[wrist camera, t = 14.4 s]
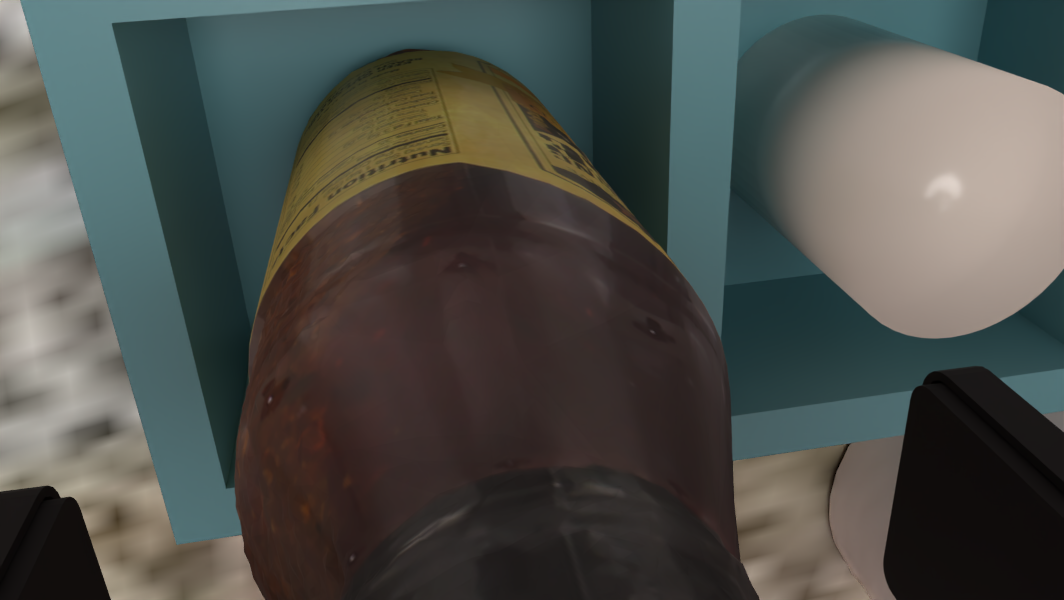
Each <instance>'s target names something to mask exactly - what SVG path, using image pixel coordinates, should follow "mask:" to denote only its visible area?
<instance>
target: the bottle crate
mask: <svg viewBox="0 0 1064 600" xmlns="http://www.w3.org/2000/svg"><path fill="white" fill-rule="evenodd" d="M20 1H21V5H22V8H23V12H24V15H25V19H26V22H27V25H28V29H29V32H30V36H31V39H32V43H33V46H34V50H35V53H36V57H37V60H38V64H39V67H40V71H41V74H42V78H43V81H44V85H45V88H46V92H47V95H48V99H49V102H50V106H51V109H52V112H53V116H54V119H55V123H56V126H57V130H58V133H59V137H60V140H61V144H62V147H63V151H64V154H65V158H66V161H67V165H68V168H69V172H70V175H71V179H72V182H73V186H74V189H75V192H76V196H77V199H78V203H79V206H80V210H81V213H82V217H83V220H84V224H85V227H86V231H87V234H88V238H89V241H90V245H91V248H92V252H93V255H94V259H95V262H96V266H97V269H98V273H99V276H100V279H101V283H102V286H103V290H104V293H105V297H106V300H107V304H108V307H109V311H110V314H111V318H112V321H113V325H114V328H115V332H116V335H117V339H118V342H119V346H120V349H121V353H122V356H123V360H124V363H125V366H126V370H127V373H128V377H129V380H130V384H131V387H132V391H133V394H134V398H135V401H136V405H137V408H138V412H139V415H140V419H141V422H142V426H143V429H144V433H145V436H146V440H147V443H148V446H149V450H150V453H151V457H152V460H153V464H154V467H155V471H156V474H157V478H158V481H159V485H160V488H161V492H162V495H163V499H164V502H165V506H166V509H167V513H168V516H169V520H170V523H171V527H172V530H173V533H174V537H175V540H176V544H177V545H178V544H184V543H191V542H198V541H204V540H211V539H218V538H224V537H231V536H237V535H242V532H241V525H240V520H239V517H238V513H237V510H236V507H235V506H236V497H235V478H234V477H235V461H236V441H237V436H238V430H239V425H240V418H241V414H242V408H243V404H244V401H245V396H246V389H247V387H248V385H249V373H248V366H249V343H250V338H251V333H252V329H253V324H254V320H255V315H256V311H257V307H258V303H259V299H260V295H261V291H262V287H263V283H264V279H265V275H266V271H267V267H268V263H269V259H270V255H271V251H272V247H273V243H274V239H275V235H276V231H277V227H278V223H279V219H280V215H281V211H282V207H283V203H284V199H285V195H286V191H287V187H288V184H289V180H290V176H291V172H292V168H293V164H294V160H295V156H296V152H297V147H298V144H299V142H300V139H301V136H302V134H303V132H304V130H305V128H306V126H307V124H308V120H309V119H310V117H311V116H312V114H313V113H314V112H315V110H316V109H317V107H318V106H319V104H320V103H321V102H322V101H323V100H324V98H325V97H326V96H327V95H328V94H329V93H330V92H331V91H332V89H333V88H334V87H336V86H337V85H338V84H339V83H340V82H341V81H342V80H343V79H344V78H345V77H347V76H348V75H349V74H350V73H351V72H353V71H355V70H357V69H359V68H361V67H363V66H366V65H367V64H368V63H372V62H374V61H376V60H378V59H380V58H383V57H386V56H388V55H390V54H392V53H394V52H397V51H401V50H405V49H423V50H435V51H451V52H458V53H462V54H466V55H470V56H474V57H477V58H480V59H482V60H484V61H487V62H489V63H491V64H493V65H495V66H497V67H499V68H500V69H502V70H504V71H506V72H508V73H509V74H510V75H512V76H513V77H514V78H516V79H517V80H519V81H520V82H521V83H522V84H523V85H525V86H526V87H527V88H528V89H529V90H530V91H531V92H532V93H533V94H534V95H535V96H536V97H537V98H538V99H539V100H540V102H541V103H542V104H543V105H544V106H545V108H546V109H547V110H548V111H549V112H550V113H551V115H552V116H553V117H554V118H555V120H556V121H557V122H558V123H559V124H560V126H561V127H562V128H563V129H564V131H565V132H566V133H567V134H568V136H569V137H570V138H571V139H572V141H573V142H574V143H575V144H576V146H577V147H578V148H579V149H580V150H581V151H583V152H584V154H585V155H586V157H587V158H588V159H589V161H590V162H591V164H592V165H593V167H594V168H595V169H596V170H597V171H598V173H599V174H600V175H601V177H602V178H603V179H604V180H605V181H606V182H607V183H608V184H609V186H610V187H611V188H612V189H613V191H614V192H615V193H616V194H617V196H618V197H619V198H620V199H621V201H622V202H623V203H624V204H625V205H626V207H627V208H628V209H629V210H630V212H631V213H632V214H633V215H634V216H635V217H636V219H637V220H638V221H639V222H640V224H641V225H642V226H643V227H644V229H646V230H647V231H648V233H649V234H650V235H651V236H652V237H653V239H654V240H655V241H656V242H657V243H658V244H659V245H660V246H661V247H662V249H663V250H664V251H665V252H666V253H667V255H668V256H669V257H670V258H671V259H672V261H673V262H674V263H675V265H676V266H677V268H678V269H679V271H680V272H681V273H682V275H683V276H684V277H685V278H686V280H687V281H688V282H689V283H690V285H691V286H692V288H693V289H694V290H695V292H696V293H697V295H698V296H699V298H700V299H701V301H702V302H703V304H704V306H705V307H706V309H707V311H708V313H709V315H710V317H711V319H712V321H713V323H714V325H715V327H716V330H717V332H718V335H719V337H720V340H721V342H722V346H723V350H724V355H725V359H726V363H727V369H728V377H729V386H730V395H731V423H732V455H733V461H735V460H742V459H748V458H755V457H762V456H768V455H775V454H782V453H788V452H795V451H801V450H808V449H815V448H821V447H828V446H835V445H841V444H848V443H855V442H861V441H868V440H874V439H881V438H888V437H894V436H901V435H904V433H905V427H906V421H907V415H908V410H909V404H910V398H911V395H912V392H913V390H914V389H915V387H918V386H920V385H923V381H924V379H925V378H926V376H927V375H928V374H929V373H931V372H933V371H939V370H947V369H955V368H963V367H970V366H983V367H984V368H986V369H988V370H990V371H991V372H992V373H993V374H994V375H996V376H997V377H998V378H999V379H1000V380H1002V381H1003V382H1004V383H1005V384H1006V385H1008V386H1009V387H1010V388H1011V389H1012V390H1014V391H1015V392H1016V393H1017V394H1018V395H1020V396H1021V397H1022V398H1023V399H1024V400H1026V401H1027V402H1028V403H1029V404H1031V405H1032V406H1033V407H1034V408H1035V409H1037V410H1038V411H1039V412H1040V413H1041V414H1047V413H1054V412H1060V411H1064V269H1063V270H1062V271H1061V273H1060V274H1059V275H1058V276H1057V277H1056V279H1055V280H1054V281H1053V282H1052V283H1051V284H1050V285H1049V286H1048V287H1047V288H1046V289H1045V290H1044V291H1043V292H1042V293H1041V294H1039V295H1038V296H1037V297H1036V298H1035V299H1033V300H1032V301H1031V302H1030V303H1029V304H1027V305H1026V306H1024V307H1023V308H1021V309H1020V310H1019V311H1017V312H1016V313H1014V314H1013V315H1011V316H1009V317H1007V318H1005V319H1004V320H1002V321H1000V322H998V323H996V324H994V325H991V326H989V327H987V328H984V329H982V330H979V331H976V332H972V333H969V334H966V335H961V336H956V337H950V338H937V339H935V338H919V337H914V336H909V335H905V334H902V333H900V332H897V331H894V330H892V329H890V328H888V327H887V326H885V325H883V324H881V323H880V322H879V321H877V320H876V319H875V318H874V317H872V316H871V315H870V314H869V313H868V312H867V311H866V310H864V309H863V308H862V307H861V306H860V305H859V304H858V303H857V302H856V301H854V300H853V299H852V298H851V297H850V296H849V295H848V294H847V293H846V292H844V291H843V290H842V289H841V288H840V287H839V286H838V285H837V284H836V283H834V282H833V281H832V280H831V279H830V278H829V277H828V276H827V275H826V274H825V273H823V272H822V271H821V270H820V269H819V268H818V267H817V266H816V265H815V264H813V263H812V262H811V261H810V260H809V259H808V258H807V257H806V256H805V255H803V254H802V253H801V252H800V251H799V250H798V249H797V248H796V247H795V246H793V245H792V244H791V243H790V242H789V241H788V240H787V239H786V238H785V237H784V236H782V235H781V234H780V233H779V232H778V231H777V230H776V229H775V228H774V227H772V226H771V225H770V224H769V223H768V222H767V221H766V220H765V219H764V218H762V217H761V216H760V215H759V214H758V213H757V212H756V211H755V210H754V209H752V208H751V207H750V206H749V205H748V204H747V203H746V202H745V201H744V200H743V199H741V198H740V197H739V196H738V195H737V194H736V193H735V192H734V191H733V190H732V189H731V188H730V180H731V163H732V147H733V130H734V113H735V96H736V80H737V63H738V61H739V60H740V58H741V57H742V56H743V55H744V54H745V52H746V51H747V50H748V49H750V48H751V47H752V46H753V45H754V44H755V43H756V42H757V41H758V40H760V39H761V38H762V37H764V36H765V35H766V34H768V33H769V32H771V31H773V30H774V29H776V28H778V27H779V26H781V25H784V24H786V23H788V22H790V21H793V20H796V19H800V18H803V17H807V16H814V15H838V16H845V17H848V18H851V19H855V20H858V21H861V22H863V23H866V24H869V25H872V26H875V27H878V28H881V29H884V30H887V31H889V32H892V33H895V34H898V35H901V36H904V37H907V38H910V39H913V40H916V41H918V42H921V43H924V44H927V45H930V46H933V47H936V48H939V49H942V50H944V51H947V52H950V53H953V54H956V55H959V56H962V57H965V58H968V59H970V60H973V61H976V62H979V63H982V64H985V65H988V66H991V67H994V68H996V69H999V70H1002V71H1005V72H1008V73H1011V74H1014V75H1017V76H1020V77H1022V78H1025V79H1028V80H1031V81H1034V82H1037V83H1040V84H1043V85H1046V86H1048V87H1050V88H1052V89H1054V90H1056V91H1058V92H1060V93H1062V94H1063V95H1064V0H20Z"/></svg>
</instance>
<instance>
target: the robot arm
mask: <svg viewBox="0 0 1064 600" xmlns="http://www.w3.org/2000/svg"><path fill="white" fill-rule="evenodd" d="M883 570H884V575H885V579H886V582H887V585H888V587H889V589H890V591H891V593H892V594H893V596H894V597H895V598H896V600H1064V432H1063V431H1062V430H1061V429H1059V428H1058V427H1057V426H1056V425H1055V424H1053V423H1052V422H1051V421H1050V420H1049V419H1047V418H1046V417H1045V416H1044V415H1043V414H1041V413H1040V412H1039V411H1038V410H1037V409H1035V408H1034V407H1033V406H1032V405H1031V404H1029V403H1028V402H1027V401H1026V400H1024V399H1023V398H1022V397H1021V396H1020V395H1018V394H1017V393H1016V392H1015V391H1014V390H1012V389H1011V388H1010V387H1009V386H1008V385H1006V384H1005V383H1004V382H1003V381H1002V380H1000V379H999V378H998V377H997V376H996V375H994V374H993V373H992V372H991V371H990V370H988V369H986V368H984V367H983V366H970V367H963V368H955V369H947V370H939V371H933V372H931V373H929V374H928V375H927V376H926V378H925V379H924V381H923V385H920V386H918V387H915V389H914V390H913V392H912V395H911V398H910V404H909V410H908V415H907V421H906V427H905V433H904V439H903V445H902V451H901V457H900V463H899V469H898V475H897V481H896V487H895V493H894V499H893V504H892V510H891V516H890V522H889V528H888V534H887V540H886V546H885V552H884V558H883ZM0 600H111V599H110V596H109V593H108V590H107V587H106V584H105V581H104V578H103V575H102V572H101V569H100V566H99V563H98V560H97V557H96V554H95V551H94V548H93V545H92V542H91V539H90V537H89V534H88V531H87V528H86V525H85V522H84V519H83V516H82V513H81V510H80V507H79V505H78V503H77V501H76V500H75V499H74V498H72V497H65V498H60V496H59V494H58V492H57V491H56V490H55V489H54V488H53V487H51V486H41V487H33V488H26V489H18V490H10V491H2V492H0Z"/></svg>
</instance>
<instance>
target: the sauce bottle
mask: <svg viewBox="0 0 1064 600" xmlns="http://www.w3.org/2000/svg"><path fill="white" fill-rule="evenodd" d="M248 373H249V385H248V387H247V389H246V396H245V401H244V404H243V408H242V414H241V418H240V425H239V430H238V436H237V441H236V461H235V477H234V478H235V497H236V506H235V507H236V510H237V513H238V517H239V520H240V525H241V532H242V536H243V541H244V553H245V555H246V557H247V559H248V561H249V563H250V567H251V571H252V575H253V578H254V580H255V582H256V584H257V586H258V587H259V589H260V591H261V593H262V595H263V597H264V598H265V600H759V596H758V595H757V593H756V591H755V590H754V588H753V586H752V584H751V582H750V580H749V577H748V575H747V573H746V570H745V568H744V566H743V564H742V563H741V561H740V552H739V544H738V534H737V525H736V515H735V506H734V485H733V455H732V423H731V395H730V386H729V377H728V369H727V363H726V359H725V355H724V350H723V346H722V342H721V340H720V337H719V335H718V332H717V330H716V327H715V325H714V323H713V321H712V319H711V317H710V315H709V313H708V311H707V309H706V307H705V306H704V304H703V302H702V301H701V299H700V298H699V296H698V295H697V293H696V292H695V290H694V289H693V288H692V286H691V285H690V283H689V282H688V281H687V280H686V278H685V277H684V276H683V275H682V273H681V272H680V271H679V269H678V268H677V266H676V265H675V263H674V262H673V261H672V259H671V258H670V257H669V256H668V255H667V253H666V252H665V251H664V250H663V249H662V247H661V246H660V245H659V244H658V243H657V242H656V241H655V240H654V239H653V237H652V236H651V235H650V234H649V233H648V231H647V230H646V229H644V227H643V226H642V225H641V224H640V222H639V221H638V220H637V219H636V217H635V216H634V215H633V214H632V213H631V212H630V210H629V209H628V208H627V207H626V205H625V204H624V203H623V202H622V201H621V199H620V198H619V197H618V196H617V194H616V193H615V192H614V191H613V189H612V188H611V187H610V186H609V184H608V183H607V182H606V181H605V180H604V179H603V178H602V177H601V175H600V174H599V173H598V171H597V170H596V169H595V168H594V167H593V165H592V164H591V162H590V161H589V159H588V158H587V157H586V155H585V154H584V152H583V151H581V150H580V149H579V148H578V147H577V146H576V144H575V143H574V142H573V141H572V139H571V138H570V137H569V136H568V134H567V133H566V132H565V131H564V129H563V128H562V127H561V126H560V124H559V123H558V122H557V121H556V120H555V118H554V117H553V116H552V115H551V113H550V112H549V111H548V110H547V109H546V108H545V106H544V105H543V104H542V103H541V102H540V100H539V99H538V98H537V97H536V96H535V95H534V94H533V93H532V92H531V91H530V90H529V89H528V88H527V87H526V86H525V85H523V84H522V83H521V82H520V81H519V80H517V79H516V78H514V77H513V76H512V75H510V74H509V73H508V72H506V71H504V70H502V69H500V68H499V67H497V66H495V65H493V64H491V63H489V62H487V61H484V60H482V59H480V58H477V57H474V56H470V55H466V54H462V53H458V52H451V51H435V50H423V49H405V50H401V51H397V52H394V53H392V54H390V55H388V56H386V57H383V58H380V59H378V60H376V61H374V62H372V63H368V64H367V65H366V66H363V67H361V68H359V69H357V70H355V71H353V72H351V73H350V74H349V75H348V76H347V77H345V78H344V79H343V80H342V81H341V82H340V83H339V84H338V85H337V86H336V87H334V88H333V89H332V91H331V92H330V93H329V94H328V95H327V96H326V97H325V98H324V100H323V101H322V102H321V103H320V104H319V106H318V107H317V109H316V110H315V112H314V113H313V114H312V116H311V117H310V119H309V120H308V124H307V126H306V128H305V130H304V132H303V134H302V136H301V139H300V142H299V144H298V147H297V152H296V156H295V160H294V164H293V168H292V172H291V176H290V180H289V184H288V187H287V191H286V195H285V199H284V203H283V207H282V211H281V215H280V219H279V223H278V227H277V231H276V235H275V239H274V243H273V247H272V251H271V255H270V259H269V263H268V267H267V271H266V275H265V279H264V283H263V287H262V291H261V295H260V299H259V303H258V307H257V311H256V315H255V320H254V324H253V329H252V333H251V338H250V343H249V366H248Z"/></svg>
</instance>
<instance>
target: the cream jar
mask: <svg viewBox="0 0 1064 600" xmlns="http://www.w3.org/2000/svg"><path fill="white" fill-rule="evenodd" d="M730 188H731V189H732V190H733V191H734V192H735V193H736V194H737V195H738V196H739V197H740V198H741V199H743V200H744V201H745V202H746V203H747V204H748V205H749V206H750V207H751V208H752V209H754V210H755V211H756V212H757V213H758V214H759V215H760V216H761V217H762V218H764V219H765V220H766V221H767V222H768V223H769V224H770V225H771V226H772V227H774V228H775V229H776V230H777V231H778V232H779V233H780V234H781V235H782V236H784V237H785V238H786V239H787V240H788V241H789V242H790V243H791V244H792V245H793V246H795V247H796V248H797V249H798V250H799V251H800V252H801V253H802V254H803V255H805V256H806V257H807V258H808V259H809V260H810V261H811V262H812V263H813V264H815V265H816V266H817V267H818V268H819V269H820V270H821V271H822V272H823V273H825V274H826V275H827V276H828V277H829V278H830V279H831V280H832V281H833V282H834V283H836V284H837V285H838V286H839V287H840V288H841V289H842V290H843V291H844V292H846V293H847V294H848V295H849V296H850V297H851V298H852V299H853V300H854V301H856V302H857V303H858V304H859V305H860V306H861V307H862V308H863V309H864V310H866V311H867V312H868V313H869V314H870V315H871V316H872V317H874V318H875V319H876V320H877V321H879V322H880V323H881V324H883V325H885V326H887V327H888V328H890V329H892V330H894V331H897V332H900V333H902V334H905V335H909V336H914V337H919V338H935V339H937V338H950V337H956V336H961V335H966V334H969V333H972V332H976V331H979V330H982V329H984V328H987V327H989V326H991V325H994V324H996V323H998V322H1000V321H1002V320H1004V319H1005V318H1007V317H1009V316H1011V315H1013V314H1014V313H1016V312H1017V311H1019V310H1020V309H1021V308H1023V307H1024V306H1026V305H1027V304H1029V303H1030V302H1031V301H1032V300H1033V299H1035V298H1036V297H1037V296H1038V295H1039V294H1041V293H1042V292H1043V291H1044V290H1045V289H1046V288H1047V287H1048V286H1049V285H1050V284H1051V283H1052V282H1053V281H1054V280H1055V279H1056V277H1057V276H1058V275H1059V274H1060V273H1061V271H1062V270H1063V269H1064V95H1063V94H1062V93H1060V92H1058V91H1056V90H1054V89H1052V88H1050V87H1048V86H1046V85H1043V84H1040V83H1037V82H1034V81H1031V80H1028V79H1025V78H1022V77H1020V76H1017V75H1014V74H1011V73H1008V72H1005V71H1002V70H999V69H996V68H994V67H991V66H988V65H985V64H982V63H979V62H976V61H973V60H970V59H968V58H965V57H962V56H959V55H956V54H953V53H950V52H947V51H944V50H942V49H939V48H936V47H933V46H930V45H927V44H924V43H921V42H918V41H916V40H913V39H910V38H907V37H904V36H901V35H898V34H895V33H892V32H889V31H887V30H884V29H881V28H878V27H875V26H872V25H869V24H866V23H863V22H861V21H858V20H855V19H851V18H848V17H845V16H838V15H814V16H807V17H803V18H800V19H796V20H793V21H790V22H788V23H786V24H784V25H781V26H779V27H778V28H776V29H774V30H773V31H771V32H769V33H768V34H766V35H765V36H764V37H762V38H761V39H760V40H758V41H757V42H756V43H755V44H754V45H753V46H752V47H751V48H750V49H748V50H747V51H746V52H745V54H744V55H743V56H742V57H741V58H740V60H739V61H738V63H737V80H736V96H735V113H734V130H733V147H732V163H731V180H730Z"/></svg>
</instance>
